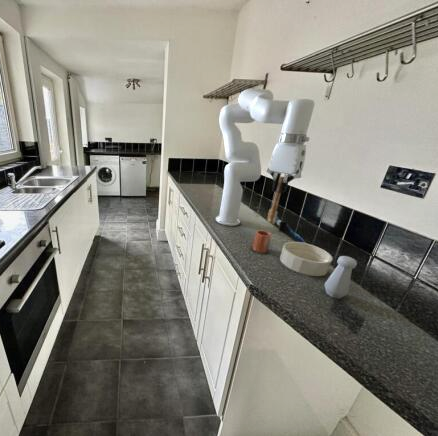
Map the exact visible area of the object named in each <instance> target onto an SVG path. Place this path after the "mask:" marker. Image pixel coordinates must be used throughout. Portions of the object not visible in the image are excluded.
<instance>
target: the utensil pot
mask: <svg viewBox="0 0 438 436" xmlns="http://www.w3.org/2000/svg"><path fill="white" fill-rule="evenodd" d="M271 238H272V233H271V232H269V231H267V230H261V229H260V230H256V232H255V235H254V239H253V245H252V249H253V251H255V252H257V253H267V252H268V249H269V245H270V241H271Z"/></svg>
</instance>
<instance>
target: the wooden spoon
mask: <svg viewBox="0 0 438 436" xmlns="http://www.w3.org/2000/svg"><path fill="white" fill-rule="evenodd" d="M283 179H284V176H280V177H279V180H278V184H277V188H276V191H274V196H273V200H272V204H271V208H269V210H268V213H267V217H266V222H267V223H269V224H273V225H274V224H276V222H275V220H276V216H277V217H278V211H277V209H278V205H279V202H280V199H281V198H280V197H281V194H282V193H279V188H280V185H281V182H283Z"/></svg>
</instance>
